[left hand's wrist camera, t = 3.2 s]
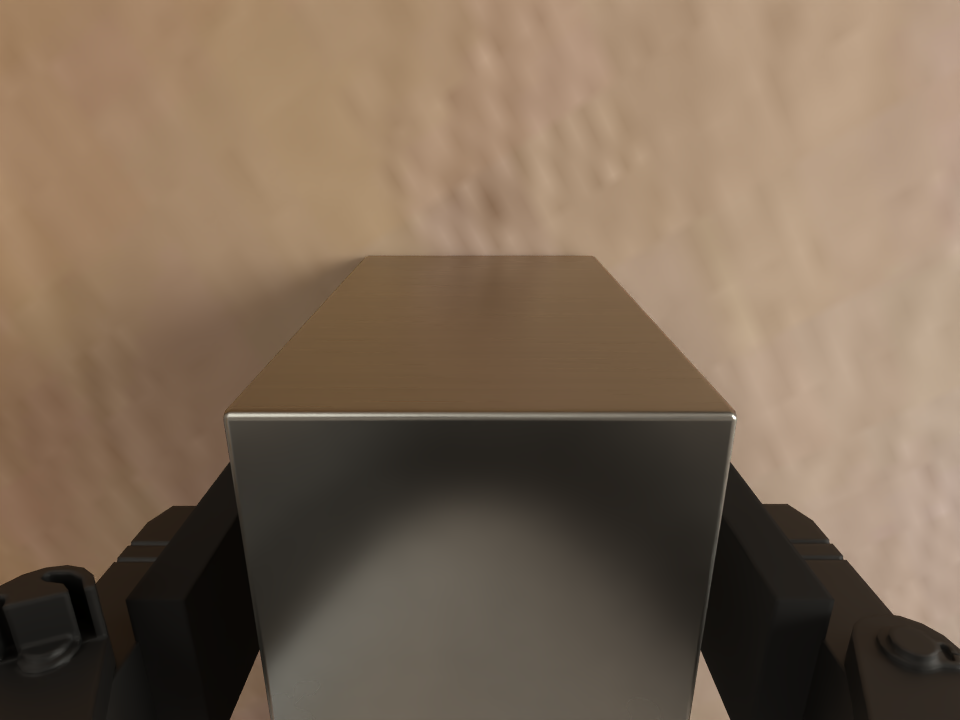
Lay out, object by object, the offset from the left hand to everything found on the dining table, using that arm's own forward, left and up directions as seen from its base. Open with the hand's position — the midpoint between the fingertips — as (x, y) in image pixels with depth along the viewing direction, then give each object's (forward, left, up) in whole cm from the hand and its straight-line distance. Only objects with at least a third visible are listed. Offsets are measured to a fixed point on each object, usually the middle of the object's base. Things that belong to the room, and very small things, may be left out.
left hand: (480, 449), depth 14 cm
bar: (+8, 0, -1) cm, 8 cm away
